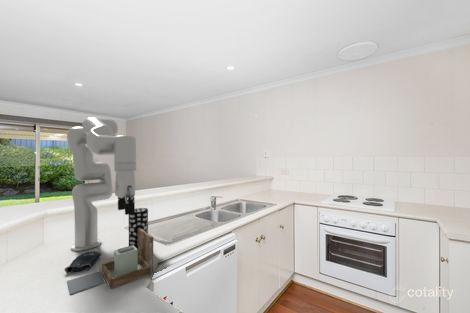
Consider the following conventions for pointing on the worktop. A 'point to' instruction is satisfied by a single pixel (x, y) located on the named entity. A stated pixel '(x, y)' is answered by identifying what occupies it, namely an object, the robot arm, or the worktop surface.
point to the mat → (85, 282)
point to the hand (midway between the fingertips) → (126, 211)
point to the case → (143, 260)
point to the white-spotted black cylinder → (137, 224)
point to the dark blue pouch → (83, 261)
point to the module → (125, 260)
